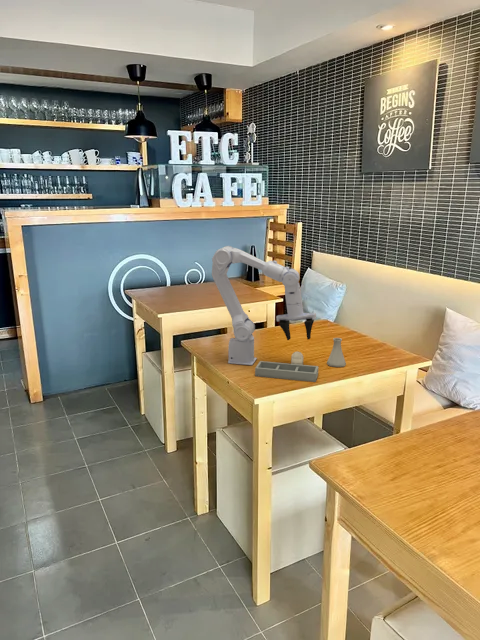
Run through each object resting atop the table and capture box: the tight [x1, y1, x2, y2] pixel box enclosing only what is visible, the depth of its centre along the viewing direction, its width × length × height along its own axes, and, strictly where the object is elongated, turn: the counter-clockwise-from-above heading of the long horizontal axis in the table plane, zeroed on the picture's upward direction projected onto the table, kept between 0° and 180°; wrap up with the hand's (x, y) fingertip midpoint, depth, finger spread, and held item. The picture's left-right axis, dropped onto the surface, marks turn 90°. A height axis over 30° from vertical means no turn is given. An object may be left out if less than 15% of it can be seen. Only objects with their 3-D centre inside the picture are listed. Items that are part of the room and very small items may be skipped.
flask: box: [326, 337, 347, 368], centre depth 183 cm, size 7×7×10 cm
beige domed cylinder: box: [290, 351, 304, 365], centre depth 183 cm, size 4×4×5 cm
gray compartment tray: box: [254, 360, 319, 383], centre depth 173 cm, size 21×8×3 cm, turn 75°
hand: (298, 339), depth 181 cm, fingers open, 7 cm apart
